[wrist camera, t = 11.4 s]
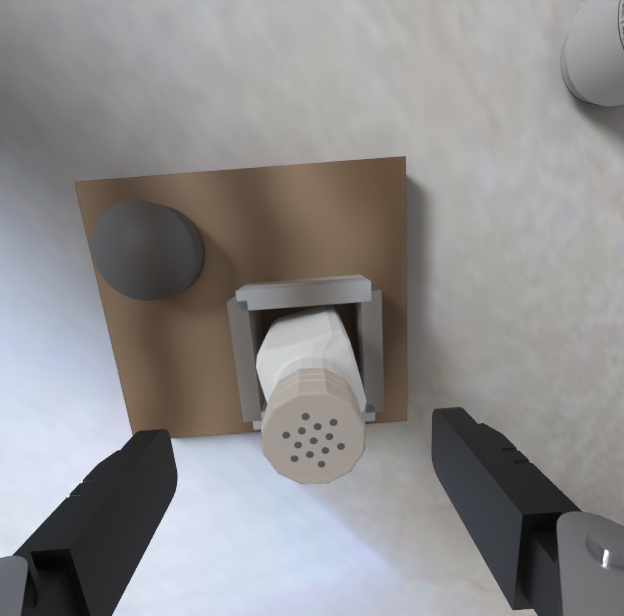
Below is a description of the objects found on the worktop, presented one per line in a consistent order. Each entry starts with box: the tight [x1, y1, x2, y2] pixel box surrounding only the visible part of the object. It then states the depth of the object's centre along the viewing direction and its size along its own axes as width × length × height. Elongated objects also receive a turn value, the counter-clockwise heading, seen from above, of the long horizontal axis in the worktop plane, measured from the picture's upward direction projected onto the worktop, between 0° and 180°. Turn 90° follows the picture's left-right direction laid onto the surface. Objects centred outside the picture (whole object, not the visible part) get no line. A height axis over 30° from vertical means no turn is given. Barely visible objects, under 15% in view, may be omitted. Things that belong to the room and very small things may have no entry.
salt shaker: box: [256, 305, 367, 484], centre depth 13 cm, size 4×4×10 cm
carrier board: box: [74, 156, 407, 438], centre depth 17 cm, size 18×16×5 cm
